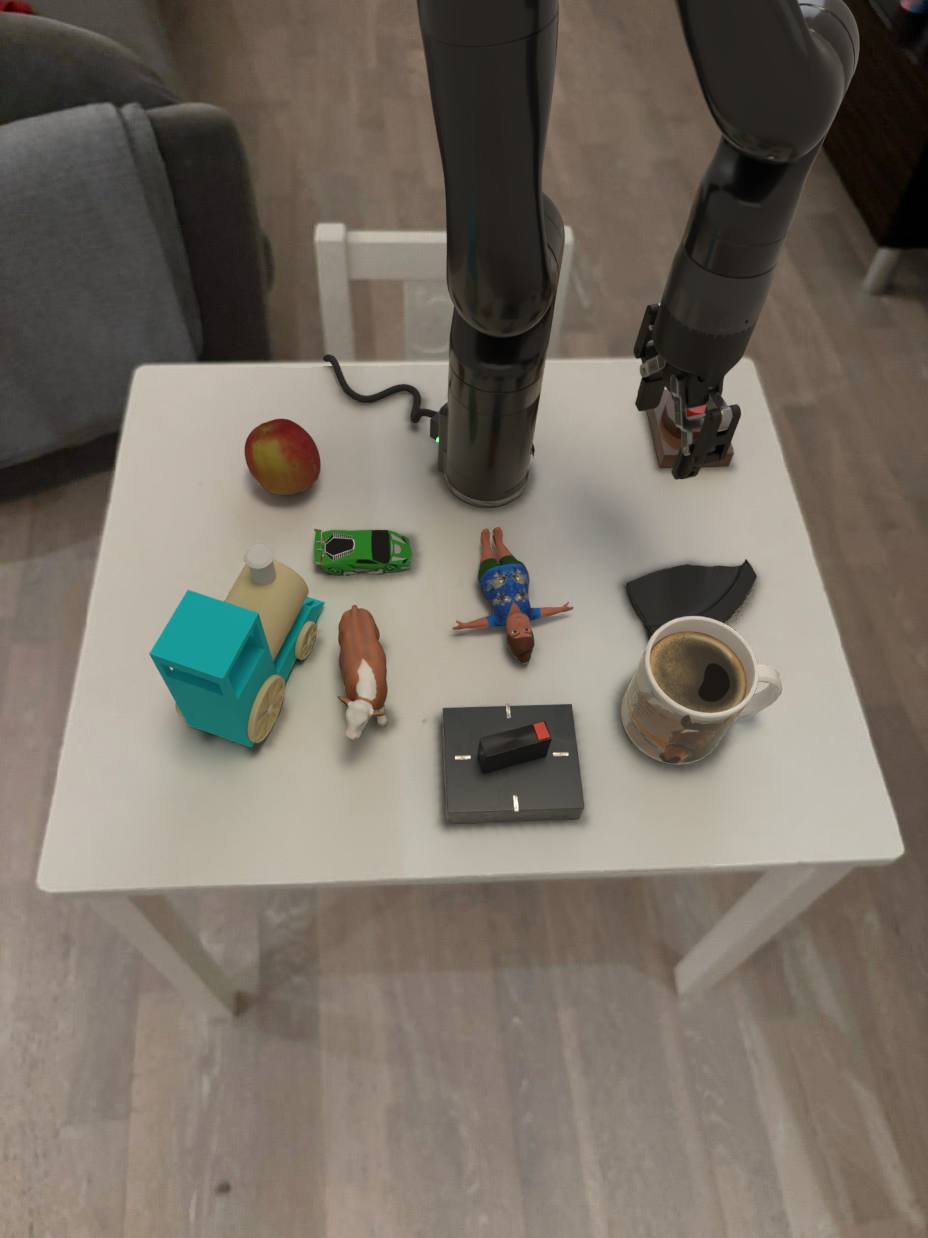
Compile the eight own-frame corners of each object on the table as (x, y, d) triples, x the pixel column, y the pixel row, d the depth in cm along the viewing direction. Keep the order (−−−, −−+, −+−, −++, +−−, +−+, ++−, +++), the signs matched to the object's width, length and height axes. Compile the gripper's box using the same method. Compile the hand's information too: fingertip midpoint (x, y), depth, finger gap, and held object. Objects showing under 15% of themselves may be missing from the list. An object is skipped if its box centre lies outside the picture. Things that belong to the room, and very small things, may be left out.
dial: (483, 774, 80) (486, 756, 76) (476, 756, 81) (479, 737, 77) (546, 756, 81) (552, 737, 77) (539, 738, 82) (545, 719, 78)
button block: (728, 466, 103) (739, 442, 99) (659, 468, 102) (668, 444, 99) (710, 401, 108) (720, 376, 104) (644, 402, 107) (652, 377, 104)
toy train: (332, 609, 91) (318, 520, 78) (261, 754, 83) (231, 682, 70) (261, 586, 92) (235, 494, 79) (183, 727, 84) (140, 650, 71)
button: (712, 423, 101) (717, 412, 100) (681, 424, 101) (685, 413, 100) (706, 399, 103) (710, 388, 102) (675, 400, 103) (679, 389, 101)
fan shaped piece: (774, 618, 93) (779, 610, 91) (654, 652, 90) (658, 644, 89) (737, 553, 97) (741, 545, 95) (621, 584, 94) (624, 576, 93)
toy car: (410, 536, 96) (410, 523, 94) (412, 573, 94) (412, 561, 92) (316, 539, 95) (313, 526, 94) (315, 576, 93) (313, 564, 91)
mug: (655, 649, 90) (682, 590, 81) (763, 714, 87) (805, 661, 78) (601, 727, 86) (624, 675, 76) (713, 799, 83) (752, 753, 73)
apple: (311, 446, 102) (303, 395, 95) (331, 500, 98) (324, 451, 91) (244, 462, 100) (231, 412, 93) (262, 518, 97) (250, 470, 90)
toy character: (551, 509, 93) (592, 633, 86) (546, 536, 97) (585, 657, 90) (432, 527, 91) (464, 655, 84) (431, 554, 95) (462, 678, 88)
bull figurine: (343, 764, 83) (336, 729, 76) (341, 637, 90) (334, 593, 83) (391, 761, 83) (388, 726, 76) (386, 634, 90) (382, 591, 83)
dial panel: (446, 825, 80) (447, 813, 78) (441, 719, 86) (442, 705, 83) (579, 820, 81) (585, 808, 78) (567, 716, 86) (572, 701, 84)
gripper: (799, 352, 66) (733, 491, 80) (718, 231, 73) (670, 378, 87) (707, 371, 65) (656, 508, 79) (633, 245, 72) (598, 392, 86)
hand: (663, 440), depth 83 cm, fingers open, 8 cm apart
